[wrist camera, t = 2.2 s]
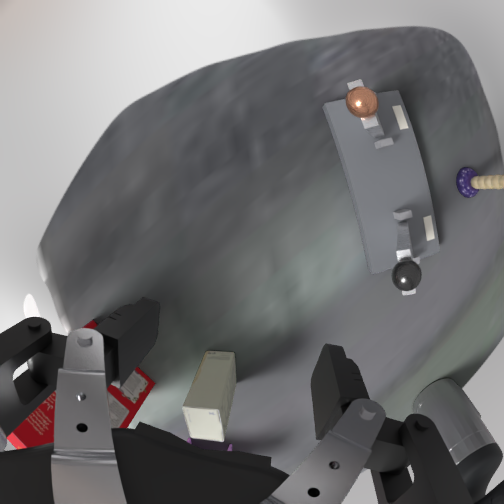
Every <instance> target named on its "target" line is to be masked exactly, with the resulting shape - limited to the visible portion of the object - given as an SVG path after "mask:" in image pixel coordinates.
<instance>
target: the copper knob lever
mask: <svg viewBox="0 0 504 504" xmlns="http://www.w3.org/2000/svg"><path fill="white" fill-rule="evenodd" d="M347 84H348V87H349V89H350V91H349V92H348V93H347V96H346V106H347V109H348V110H349V112H350V113H351V114H353V115H354V116H356V117H358V118H361V120H362V123H363V126H364V129H365V130H366V131H367V132H369V133H370V134H371V135H372V136H373V137H374V138H380V137H384V136H385V135H384V132H383V129H382V126H381V123H380V120H379V117H378V115H377V110H378V107H379V101H378V98H377V96H376V94H375V93H374V92H373V91H372V90H371V89H369V88H367V87H365V86H364V84H363V82H362V80H361V79H360V80H356V81H353V82H350V83H347Z"/></svg>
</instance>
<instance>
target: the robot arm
mask: <svg viewBox="0 0 504 504" xmlns="http://www.w3.org/2000/svg"><path fill="white" fill-rule="evenodd" d="M159 313H160V303H159V302H157V301H154V300H151V299H147V298H144V297H143V298H141V299H140V300H139V301H138V302H137V303H135V304H134V305H131V304H129V305H126V306H123V307H120V308H119V309H118V310H116V311H115V312H114V314H113V313H112V314H111V315H110V316H109V318H108V317H107V318H106V319H105V320H104V321H102V322H101V323H100V324H99V325H97V326H96V327H95V328H94V329H88V328H80V329H76V330H73V331H71V332H70V333H69V334H68V336H64V335H60V334H55V333H52V331H51V325H50V323H49V321H47V320H46V319H44V318H40V317H30V318H26V319H24V320H23V321H21V322H19V323H17V324H16V325H14V326H12V327H11V328H9V329H7V330H6V331H4V332H2V333H1V334H0V504H341V503H342V502H343V500H344V499H345V497H346V496H347V494H348V492H349V491H350V489H351V488H352V486H353V484H354V483H355V481H356V479H357V478H358V476H359V474H360V473H361V471H362V469H363V468H367V469H370V470H371V474H372V478H373V482H374V486H375V491H376V495H377V499H378V504H504V480H503V481H502V482H501V483H500V484H498V485H497V486H496V487H495V488H494V489H493V490H491V491H490V492H489V493H488V494H487V495H485V492H486V489H487V486H488V484H489V482H490V480H491V478H492V476H493V474H494V473H495V471H496V470H497V468H498V467H499V465H500V463H501V461H502V458H503V454H502V451H501V449H500V447H499V446H498V444H497V443H496V442H495V440H494V438H493V437H492V435H491V433H490V432H489V431H488V429H487V427H486V426H485V424H484V423H483V421H482V420H481V415H480V413H479V412H478V411H477V409H476V408H475V406H474V405H473V404H472V402H471V401H470V399H469V398H468V396H467V395H466V394H465V392H464V391H463V390H462V388H461V387H460V386H459V385H457V384H456V383H455V381H453V380H452V379H448V378H445V379H441V380H438V381H436V382H434V383H432V384H430V385H429V386H428V387H426V388H425V389H424V390H423V391H422V392H421V393H420V394H419V396H418V397H417V398H416V400H415V402H414V405H413V411H414V414H411V415H409V416H408V417H407V418H406V419H405V421H404V422H401V421H397V420H393V419H390V418H387V417H386V413H385V410H384V409H383V408H382V406H381V405H379V404H378V403H376V402H375V401H372V400H370V398H369V395H368V392H367V390H366V387H365V384H364V382H363V379H362V376H361V373H360V370H359V368H358V366H357V365H356V364H355V363H354V361H353V360H352V359H348V358H346V355H345V352H344V349H343V347H342V346H337V345H332V344H325V345H324V347H323V349H322V351H321V354H320V356H319V359H318V361H317V364H316V366H315V369H314V371H313V374H312V378H311V392H312V401H313V411H314V421H315V432H316V440H321V441H320V442H319V444H318V445H317V446H316V447H315V448H314V450H313V451H312V452H311V453H310V454H309V455H308V457H307V458H306V459H305V460H304V461H303V462H302V463H301V464H300V465H299V467H298V468H297V469H296V470H295V471H294V472H293V473H292V474H291V475H288V474H286V473H285V472H283V471H281V470H279V469H277V468H274V467H271V457H267V456H261V455H255V454H250V453H245V452H240V451H219V450H204V449H200V448H198V447H196V446H194V445H192V444H190V443H188V442H186V441H184V440H183V439H181V438H179V437H177V436H175V435H173V434H172V433H170V432H167V431H164V430H161V429H158V428H155V427H153V426H150V425H147V424H145V423H142V422H139V423H138V425H137V427H136V429H129V428H112V423H111V416H110V409H109V401H108V392H107V388H108V387H109V386H110V385H114V386H116V387H118V388H121V387H122V385H123V384H124V383H125V382H126V380H127V379H128V378H129V376H130V375H131V374H132V373H133V371H134V370H135V369H136V367H137V366H138V365H139V364H140V362H141V361H142V360H143V358H144V357H145V356H146V355H147V353H148V352H149V351H150V349H151V348H152V347H153V346H154V344H155V342H156V339H157V335H158V324H159ZM26 361H27V364H28V368H29V369H28V370H26V371H25V372H23V373H22V374H21V375H20V376H19V377H17V378H16V379H15V380H13V373H14V371H15V370H16V369H17V368H18V367H20V366H21V365H22V364H24V363H25V362H26ZM55 390H56V400H55V419H54V442H52V443H48V444H43V445H38V446H33V447H28V448H22V449H17V450H10V451H5V450H4V449H5V447H6V444H7V437H8V436H9V435H10V434H11V433H12V432H13V431H14V430H15V429H16V428H17V427H18V426H19V425H20V424H21V423H22V422H23V421H24V420H25V419H26V418H27V417H28V416H29V415H30V414H31V413H32V412H33V411H34V410H35V409H36V408H37V407H39V406H40V405H41V404H42V403H43V402H44V401H45V400H46V399H47V398H48V397H49V396H50V395H51V394H52V393H53V392H54V391H55ZM409 465H411V467H412V470H413V473H414V482H413V483H412V480H411V477H410V474H409V471H408V469H407V467H408V466H409Z"/></svg>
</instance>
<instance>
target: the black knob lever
mask: <svg viewBox="0 0 504 504" xmlns="http://www.w3.org/2000/svg"><path fill="white" fill-rule="evenodd" d="M396 253H397V259H398V263H397V264H396V265H395V266H394V268H393V270H392V281H393V283H394V285H395V286H396V287H397V288H398V289H399V290H402V293H403V295H409V294H416V287H417V286H418V285H419V283H420V281H421V275H422V274H421V269H420V267H419V265H418V264H417V263H416V262H415V261H414V259H413V250H412V244H411V238H410V233H409V227H408V222H407V220H403V221H399V222H398V228H397V247H396Z"/></svg>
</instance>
